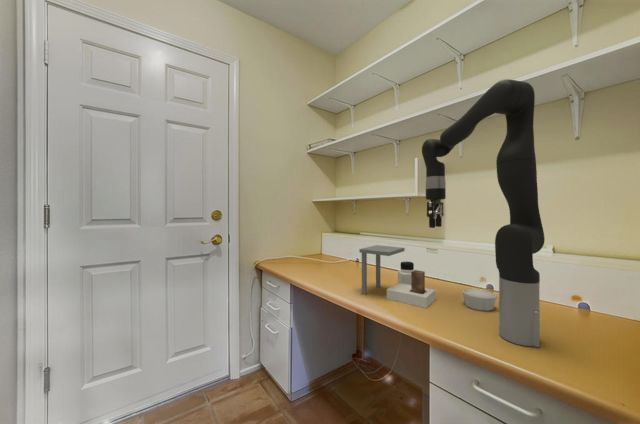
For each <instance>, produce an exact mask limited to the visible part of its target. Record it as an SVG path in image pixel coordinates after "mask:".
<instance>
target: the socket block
mask: <svg viewBox="0 0 640 424" xmlns="http://www.w3.org/2000/svg"><path fill="white" fill-rule="evenodd" d="M436 296H437V293H436V289H432V288H426V287H425V293H424V294H419V293H414V292H411V285H407V284H402V283H398V282H397V283H396V284H394V285H391V286H390V287H388V288H387V289H386V300H389V301H390V300H391V301H395V302H399V303H403V304H406V305H407V304H408V305H411V306H415V307H418V308H419V307H420V308H423V309H427V308H428V307H430V305H432V304H433V303H434V302H435V301H436V298H437V297H436Z"/></svg>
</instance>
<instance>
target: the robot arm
mask: <svg viewBox="0 0 640 424" xmlns="http://www.w3.org/2000/svg"><path fill="white" fill-rule="evenodd" d="M535 97H536V95H535V90H534V87H533V86H532V84H530V83H529V82H527V81H524V80H515V79H508V78H507V79H502V80H499V81H497V82H496V83H495V84H493V85H492V86H491V87H490V88H489V89H488V90H487V91H485V93H483V95H482V96H481V97H480V98H479V99H478V100H477V101H476V102H475V103H474V104H473V105H472V106H471V107H470V108H469V109H468V110H467V112H465V113H464V115H462V116H461V117H460V118H459V119H458V120H457V121H455V122H454V123H453V124H451V125H450V126H449V127H448V128H446V129H445V130H443V131H442V133H441V134H440V138H439V139H437V138H436V139H435V138H428V139H426V140H425V141H424V142H423V143H422V146H421V155H422V158H423V161H424V165H425V169H426V171H425V172H426V174H425V175H426V176H425V177H426V178H425V180H426V181H425V200H427V201H426V218H428V227H429V228H432V229H435V228H436V227H438V228H441V227H442V226H443V225H442V222H443V221H442V218H443V217H444V215H445V214H444V202H443V201H442V202H441V200H445V199H446V197H447V196H446V194H447V193H446V186H447V185H446V166H445V163H444V162H441V161H440V160H438V158H442V157H445V156H447V155H449V153H450V152H451V151H452V150H453V149H454V148H455V146H457V145H458V144H460V143H462V142H463V141H465V140H467V138H468V137H470V136H471V135H472V134H473V132H474V131H475V129H476V127H477V126H478V124H479V123H480V122H481V121H483V120H484V119H486V118H488V117H490V116H492V115H494V114H498V115H504V116H505V121H506V122H505V123H506V135H505V138H504V140H503V142H502V144H501V147H500V149H499V150H498V153H497V156H496V162H495V163H496V178H497V183H498V185H499V188H500V191H501V192H502V194H503V196H504V198H505V201H506V203H507V205H508V209H509V211H508V212H509V224H506V225H505V224H504V225H503V226H501V227H500V228H499V229H498V231H497V232H496V234H495V238H494V239H495V240H494V250H495V251H494V253H495V255H494V256H495V265H496V268H497V270H498V336H500V337H501V338H503V339H504V340H506V341H508V342H510V343H512V344H515V345H519V346H524V347H535V348H540V344H541V343H540V334H541V332H540V328H541V327H540V326H541V325H540V317H541V315H540V314H541V313H540V311H541V310H540V309H541V308H540V304H541V303H540V281H541V278H540V272H539V271H538V270H537V269H535V267H534V260H533V259H534V258H533V257H534V254H536V253H539V252H540V251H541V250H542V249H543V247H544V245H545V238H546V237H545V232H544V227H543V223H542V219H541V214H540V208H539V207H540V206H539V193H538V190H539V189H538V178H537V177H538V173H537V172H538V171H537V159H536V151H535V134H534V133H535V132H534V118H535V117H534V115H535V103H536V101H535V100H536V99H535Z"/></svg>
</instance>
